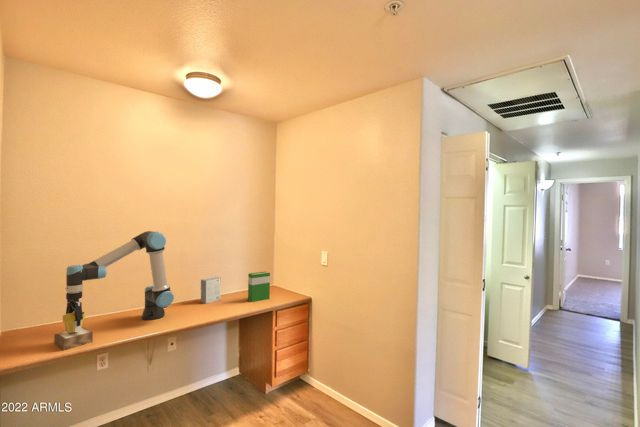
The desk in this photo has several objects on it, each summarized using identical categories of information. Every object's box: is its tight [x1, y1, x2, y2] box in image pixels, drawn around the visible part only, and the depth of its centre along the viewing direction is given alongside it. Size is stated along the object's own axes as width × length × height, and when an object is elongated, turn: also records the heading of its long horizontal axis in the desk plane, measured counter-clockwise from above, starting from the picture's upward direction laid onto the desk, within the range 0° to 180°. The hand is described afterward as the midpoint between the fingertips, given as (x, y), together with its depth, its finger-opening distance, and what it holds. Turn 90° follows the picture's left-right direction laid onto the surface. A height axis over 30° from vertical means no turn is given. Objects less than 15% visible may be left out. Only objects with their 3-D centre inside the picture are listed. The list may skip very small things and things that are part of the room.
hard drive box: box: [200, 276, 222, 305], centre depth 274 cm, size 16×8×20 cm, turn 144°
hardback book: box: [247, 271, 271, 303], centre depth 281 cm, size 18×7×24 cm, turn 129°
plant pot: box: [62, 311, 86, 333], centre depth 184 cm, size 10×10×10 cm
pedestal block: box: [53, 326, 94, 351], centre depth 184 cm, size 14×14×6 cm
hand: (73, 329), depth 184 cm, fingers closed on plant pot, 10 cm apart
